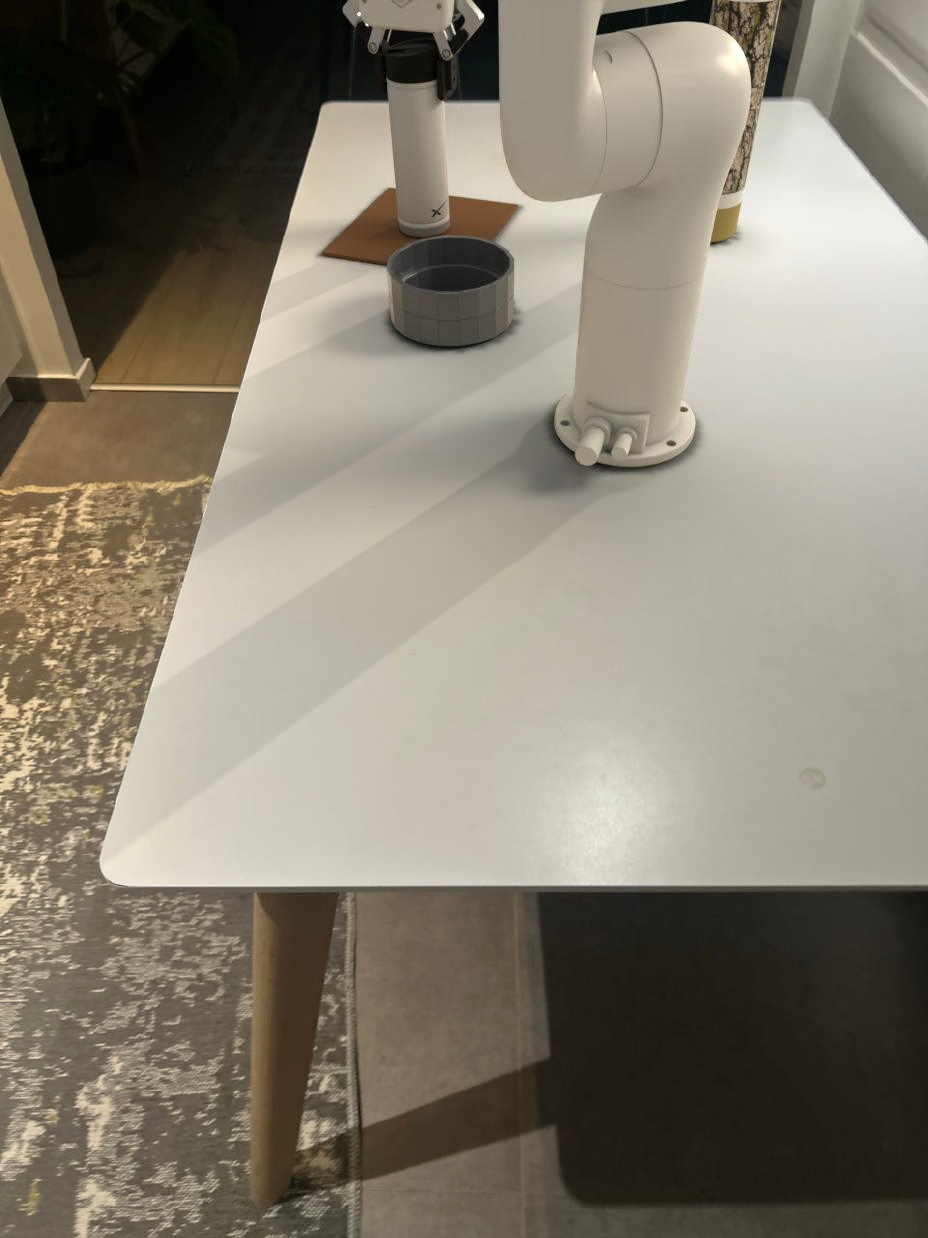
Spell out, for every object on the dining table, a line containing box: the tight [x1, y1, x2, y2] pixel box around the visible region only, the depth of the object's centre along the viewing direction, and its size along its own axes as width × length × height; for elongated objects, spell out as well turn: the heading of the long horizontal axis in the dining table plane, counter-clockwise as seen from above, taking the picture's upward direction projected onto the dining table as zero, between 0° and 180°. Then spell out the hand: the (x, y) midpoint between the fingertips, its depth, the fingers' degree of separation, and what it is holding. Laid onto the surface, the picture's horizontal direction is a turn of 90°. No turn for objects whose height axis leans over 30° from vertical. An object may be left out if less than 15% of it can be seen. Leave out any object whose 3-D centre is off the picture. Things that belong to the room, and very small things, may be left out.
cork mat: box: [321, 187, 519, 266], centre depth 113 cm, size 20×18×1 cm
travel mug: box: [385, 37, 450, 238], centre depth 106 cm, size 6×7×20 cm
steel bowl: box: [386, 235, 515, 347], centre depth 96 cm, size 13×13×6 cm
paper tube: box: [708, 0, 782, 243], centre depth 102 cm, size 7×7×25 cm
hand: (416, 92), depth 102 cm, fingers closed on travel mug, 6 cm apart
